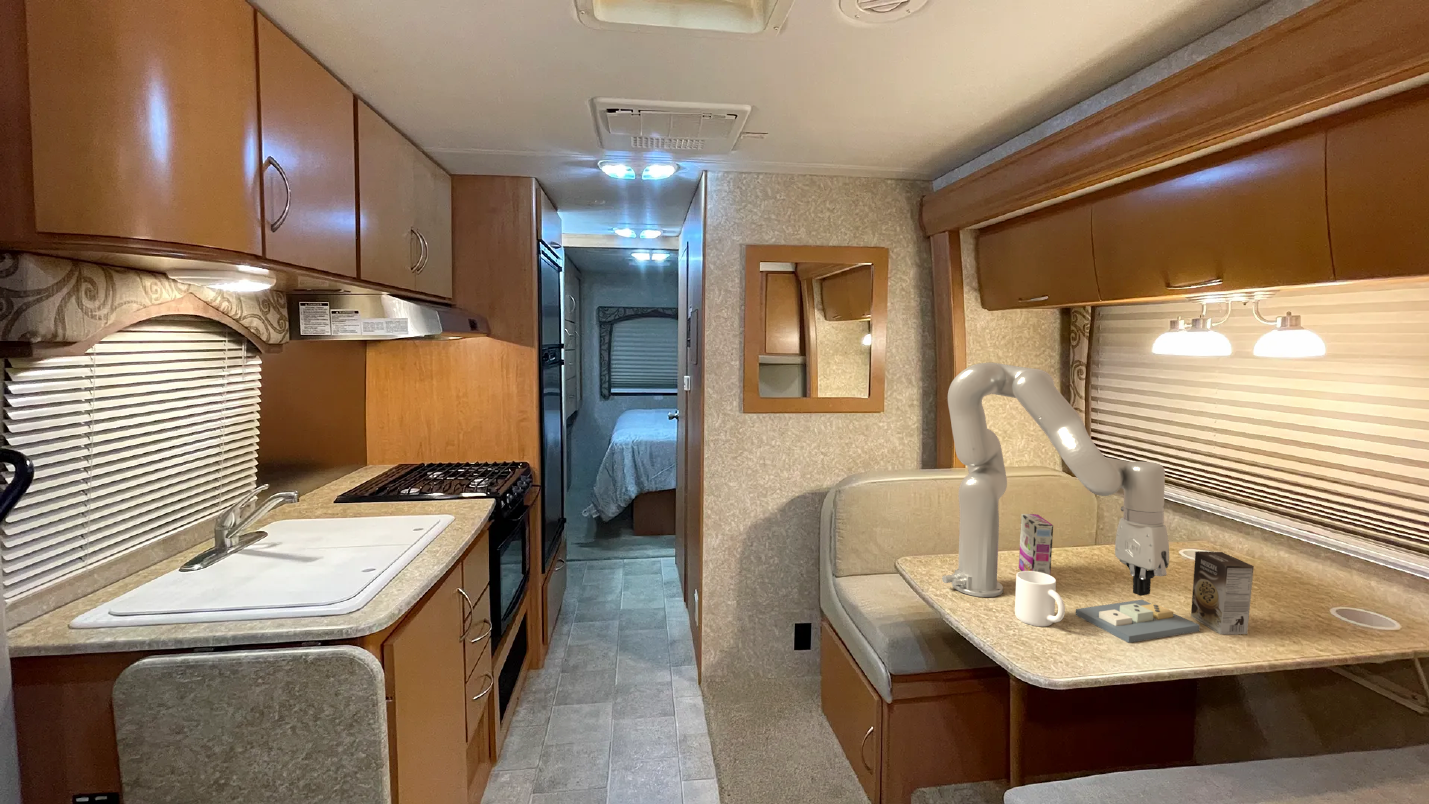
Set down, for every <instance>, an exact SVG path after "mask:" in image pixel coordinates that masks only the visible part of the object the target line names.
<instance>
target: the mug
mask: <svg viewBox="0 0 1429 804" xmlns="http://www.w3.org/2000/svg"><path fill="white" fill-rule="evenodd" d="M1015 575H1016V576H1015V577H1016V578H1015V599H1014V600H1015V601H1014V614H1015V617H1016V618H1017V619H1018V620H1019V621H1020V622H1022V623H1024V624H1026V625H1029V626H1033V627H1048V626H1051V625H1053V623H1059V622H1061V621H1062V620H1063V619H1064V617H1065V614H1066V613H1065V612H1066V606H1065V602H1064V600H1063V598H1062V596H1061V595H1060V594H1059V593H1058V592H1057V591H1056V588H1057V587H1056V586H1057V579H1056V578H1055V577H1054V576H1052V575H1051V574H1050V575H1048V574H1045V573H1041V572H1036V571H1021V570H1020V571H1018V572H1016V574H1015ZM1056 604H1057V613H1056V612H1055V610H1056V609H1055V608H1056ZM1055 613H1056V615H1055Z"/></svg>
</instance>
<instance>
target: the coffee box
mask: <svg viewBox="0 0 1429 804" xmlns="http://www.w3.org/2000/svg"><path fill="white" fill-rule="evenodd" d="M1194 555H1195V556H1194V567H1193V568H1194V570H1193V583H1192V596H1191V608H1190V609H1191V610H1190V616H1191V618H1193V619H1194V620H1196V621H1198V622H1200V623H1201V624H1202V625H1204V626H1205V627H1207V628H1209V629H1211V630H1212V631H1214V632H1216V633H1218V634H1219V635H1238V634H1240V635H1241V634H1247V635H1248V631H1249V630H1248V628H1249V619H1250V607H1251V599H1252V590H1253V589H1252V588H1253V579H1254V570H1255V567H1254V565H1252V564H1250V563H1248V562H1245V561H1243V560H1241V559H1239V558H1237V557H1234V556H1232V555H1229V554H1227V553H1225V552H1223V551H1207V550H1206V551H1195V552H1194ZM1241 636H1242V635H1241Z"/></svg>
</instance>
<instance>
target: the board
mask: <svg viewBox="0 0 1429 804" xmlns="http://www.w3.org/2000/svg"><path fill="white" fill-rule="evenodd" d="M1134 603H1136V604H1138V605H1140V606H1142V605H1149V604H1152V603H1151V602H1150V601H1149V602H1148V601H1146V600H1143V599H1137V600H1131V601H1122V602H1116V603H1109V604H1102V605H1096V606H1087V607H1081V608H1075V616H1076V617H1079V618H1081V620H1085V621H1086V622H1088V623H1091V624H1092V625H1094V626H1096V627H1098V628H1100V629H1101V630H1104V631H1105V632H1107V633H1108V634H1111V635H1113V636H1115V637H1116V638H1119V639H1121V640H1122V641H1124V642H1126V643H1129V644H1130V643H1137V642H1141V641H1142V642H1143V641H1149V640H1153V639H1160V638H1167V637H1172V636H1177V635H1180V636H1181V635H1184V634H1192V633H1197V632H1198V633H1199V632H1200V628H1201V627H1200V626H1201V624H1198V623H1197V622H1194V621H1191V620H1190V619H1187V618H1185V617H1183V616H1180V615H1178V614H1177V613H1174V612H1173V618H1166V619H1160V620H1158V619H1155V618H1153V621H1147V622H1140V623H1136V622H1134V621H1132V624H1127V625H1121V626H1115V625H1113V624H1111V623H1109V622H1107V621H1105V620H1103V619H1101V618H1099V612H1100V611H1107V610H1114V609H1115V610H1117V611H1119V612H1120V605H1127V604H1134Z"/></svg>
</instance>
